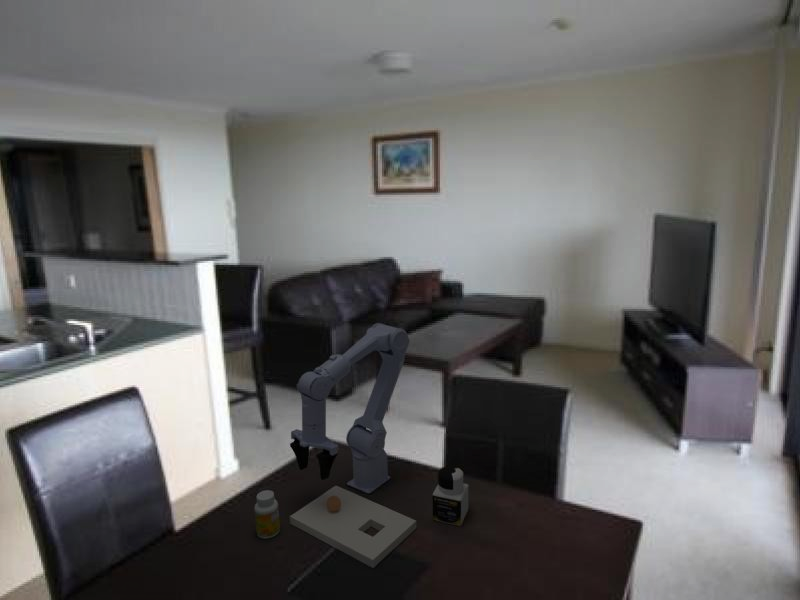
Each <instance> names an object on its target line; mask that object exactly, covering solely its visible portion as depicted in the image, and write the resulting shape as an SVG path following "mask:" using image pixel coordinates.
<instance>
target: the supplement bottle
mask: <svg viewBox="0 0 800 600" xmlns="http://www.w3.org/2000/svg"><path fill="white" fill-rule="evenodd" d="M253 509H254V516H255V517H254V518H255V529H256V535H257V537H258V538H260V539H271V538H274V537H275V536H277V535H278V534H279V533H280V530H281V525H280V513H279V502H278V501H277V499H275V493H274V491H273V490H270V489H269V490H262V491H260V492H258V493H257V495H256V503H255V505H254V508H253Z"/></svg>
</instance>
